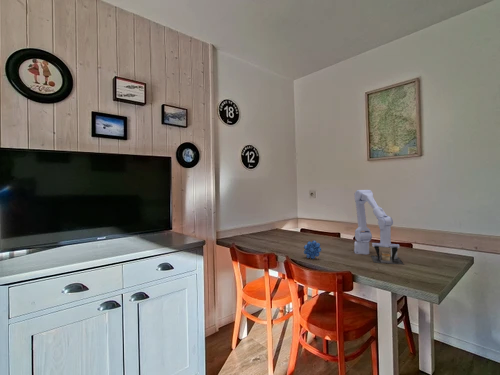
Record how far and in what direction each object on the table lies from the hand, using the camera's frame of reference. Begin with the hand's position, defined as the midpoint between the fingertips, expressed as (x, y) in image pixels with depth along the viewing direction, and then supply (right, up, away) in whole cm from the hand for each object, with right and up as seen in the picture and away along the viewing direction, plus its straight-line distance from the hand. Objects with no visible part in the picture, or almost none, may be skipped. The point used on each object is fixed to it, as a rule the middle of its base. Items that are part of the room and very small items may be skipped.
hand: (385, 259), depth 159 cm
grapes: (-41, -3, +12) cm, 43 cm away
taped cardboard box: (0, -1, 0) cm, 1 cm away
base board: (+2, -2, +3) cm, 4 cm away
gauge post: (+8, -1, +6) cm, 10 cm away
